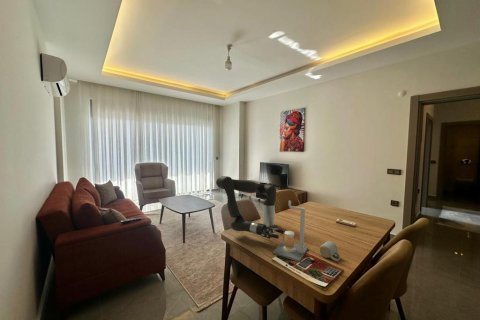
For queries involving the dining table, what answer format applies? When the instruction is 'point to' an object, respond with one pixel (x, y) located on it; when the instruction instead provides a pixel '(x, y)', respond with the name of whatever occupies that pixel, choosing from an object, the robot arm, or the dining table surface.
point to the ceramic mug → (329, 250)
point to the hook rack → (298, 248)
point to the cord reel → (289, 240)
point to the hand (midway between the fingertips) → (280, 234)
